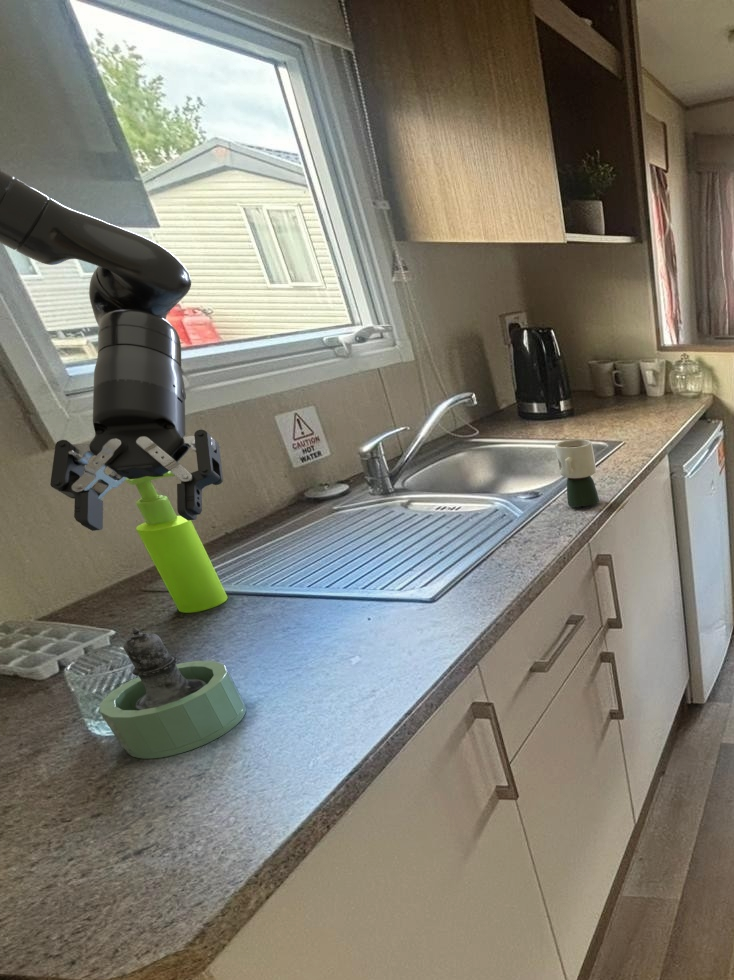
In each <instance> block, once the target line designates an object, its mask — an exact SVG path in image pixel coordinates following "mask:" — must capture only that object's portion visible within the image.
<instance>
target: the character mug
mask: <svg viewBox="0 0 734 980" xmlns="http://www.w3.org/2000/svg"><path fill="white" fill-rule="evenodd" d="M554 449H555V453H556V454H555V455H556V458H557V461H558V468H559V469H558V470H559V474H560V476H562V477H564V478H566V497H567V505H568V507H571V508H577V507H580V508H582V509H583V508H584V507H587V506H588V507H589V506H593V505H597V504H598V503H599V502H600V498H599V495H598V494H599V493H598V490H597V487H596V484H595V481H594V479H593V477H592V476H594V475H595V474H597V466H596V460H595V453H594V448H593V442H592V441H591V440H590V439H585V438H584V439H583V438H581V439H580V438H576V439H575V438H574V439H567V440H562V441H559V442H556V443H555V444H554Z"/></svg>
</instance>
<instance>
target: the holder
mask: <svg viewBox="0 0 734 980" xmlns="http://www.w3.org/2000/svg"><path fill="white" fill-rule="evenodd" d="M175 664H176V666H177V668H178V669H179V671H180V673H181V675H182V676H183V677H184V678H185V679H186V680H187V679H199V680H202V681H204V682H205V683H206V685H205V686H204V687H202V688H201V689H199V690H198V691H196V692H194V693H192V694H190V695H188V696H186V697H184V698H182V699H180V700H178V701H174V702H171V703H168V704H165V705H162V706H159V707H155V708H149V709H143V710H137V708H136V703H137V701H138V700H139V699H140V698H141V697H142V696H144V695H145V694H146V689H145V686H144V684H143V682H142V681H141V679H140V677H139V676H137V677H135V678H132V679H130V680H128V681H126V682H125V683H123V684H121V685H120V686H118V687H116V688H115V689H114V690H112V691H111V692H109V693H108V694H107V695H106V696H105V697H104V699H102V700H101V702H100V703H99V713H100V715H101V716H102V718H103V720H104V721H105V723H106V725H107V726H108V727H109V730H110V731H111V732H112V734H113V735H114V737H115V739H116V740H117V742H118V743H119V745H120V746H121V747H122V749H124V750H125V752H126V753H127V754H128V755H129V756H131V757H133V758H137V759H147V760H148V759H149V760H150V759H151V760H152V759H160V758H166V757H171V756H175V755H180V754H183V753H186V752H189V751H192V750H195V749H197V748H200V747H202V746H204V745H207V744H209V743H211V742H213V741H215V740H217V739H219V738H220V737H222V736H224V735H225V734H227V733H229V732H230V731H231V730H233V729H234V728H235V727H236V726H237V725H239V723H240V722H241V721H242V720H243V719H244V717H245V715H246V712H247V707H246V704H245V703H244V700H243V697H242V694H241V693H240V690H239V689H238V687H237V685H236V684H235V682H234V680H233V678H232V675H231V674H230V672H229V669H228V668H227V666H226V665H225V664H224V663H221V662H218V661H215V660H194V661H186V662H182V663H181V662H180V663H175Z"/></svg>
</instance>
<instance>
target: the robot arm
mask: <svg viewBox="0 0 734 980" xmlns="http://www.w3.org/2000/svg"><path fill="white" fill-rule="evenodd" d="M0 244H2V245H3V246H6V247H7V248H9V249H12V250H13V251H16V252H17V253H20V254H21V255H23V256H25V257H27V258H29V259H31V260H33V261H36V262H39V263H41V264H45V265H47V266H48V265H49V266H54V265H59V264H61V263H63V262H67V261H68V260H79V261H82V262H85V263H88V264H91V265H94V266H96V269H95V270H94V271H93V273H92V275H91V277H90V281H89V289H88V297H89V301H90V305H91V309H92V312H93V315H94V319H95V321H96V324H97V326H98V333H97V358H96V363H95V366H94V370H93V395H92V396H93V397H92V402H93V403H92V425H93V429H94V436H93V438H92V440H91V441H90V442H89V443H78V444H77V443H76V444H73V443H71V442H70V441H69V440H66V439H60V440H57V441H56V443H55V446H54V454H53V461H52V466H51V467H52V468H51V474H50V475H51V477H50V483H49V484H50V487H51V488H53V489H54V490H56V491H58V492H59V493H61V494H63V495H64V496H66V497H68V498H70V499H72V500H74V506H73V507H74V510H73V511H74V512H73V513H74V514H73V517H74V519H75V521H76V522H78V523H79V524H80V525H81V526H83V527H84V528H87V529H88V530H90V531H92V532H93V531H102V530H103V528H104V527H103V526H104V501H103V500H102V499H103V498H104V497H105V495H107V493H109V491H110V490H112V489H117V488H118V487H120V486H121V485H122V484H123V483H124V481H126V480H125V479H126V478H128V479H138V478H142V477H145V476H150V477H161V476H163V474H165V473H167V472H169V471H170V472H171V473H172V474H174V475H175V476H174V477H176V478H177V479H179V481H180V483H176V506H177V507H176V511H177V513H178V516H182V517H183V518H185V519H186V520H188V521H189V520H191V521H196V520H197V519H198V515H201V513H202V512H203V490H204V489H205V487H207V486H210V485H214V486H218V485H221V484H222V483H223V481H224V476H223V468H222V459H221V451H220V450H221V449H220V444H219V441H217V440H216V439H215V438H214V437H213V436H212V435H211V434H210V433H208V431H206V430H205V429H198V430H195V432H194V434H193V435H187V436H186V399H187V395H186V391H185V390H186V389H185V383H184V378H183V371H182V344H181V339H180V335H179V333H178V331H177V329H176V328H175V327H174V326H173V325H172V324H171V323H170V322H169V321H168V320H167V316H168V314H169V313H170V312H171V310H173V309H174V308H175V307H176V305H178V303H180V301H181V300H183V299H184V297H185V296H186V295H187V294H188V293H189V291H190V290H191V287H192V279H191V276H190V275H191V274H190V272H189V271H188V269H187V268H186V266H185V265H184V264H183V262H181V261H180V259H179V258H178V257H176V256H175V254H173V253H171V252H170V251H169V250H168V249H167V248H165V247H163V246H161V245H160V244H158V243H157V242H155V241H153V240H151V239H149V238H147V237H145V236H142V235H140V234H137V233H136V232H132V231H130V230H127V229H124V228H122V227H119V226H117V225H114V224H111V223H109V222H106V221H104V220H102V219H99V218H97V217H93V216H92V215H88V214H86V213H83V212H80V211H77V210H74V209H72V208H70V207H67V206H65V205H63V204H61V203H60V202H58V201H56V200H54V199H53V198H51V197H49V196H47V195H46V194H44V193H43V192H41V191H39V190H37V189H36V188H34V187H32V186H31V185H29V184H28V183H25V182H24V181H21V180H20V179H18V178H17V177H15V176H13V175H11V174H10V173H7V172H6V171H4V170H2V169H0ZM190 449H191V450H192V451H193V452H195V453H196V454H195V455H196V463H197V470H195V471H193V472H190V471H189V470H188V469H187V468H186V467H184V466H183V465H182V464H181V463H180V460H181V459H182V458H183V457H184V456H185V455H186V454H187V452H189V450H190ZM92 457H94V458H92ZM91 458H92V459H91ZM90 459H91V461H90ZM106 468H108V469H109V470H111V471H112V472H111V473H110V474H107V473H106V472H105V469H106Z"/></svg>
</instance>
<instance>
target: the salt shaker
mask: <svg viewBox="0 0 734 980" xmlns="http://www.w3.org/2000/svg"><path fill="white" fill-rule="evenodd" d="M140 631H141V630H140V629H138V628H136V627H132V629H131V632H130V633H131V634H133V635H131V636H130V637H129V638H127V639H126V640H125V641H124V643H123V646H122V647H123V650H124V651H125V653H126V655H127V657H128V658H129V659H130V662H131V664H132V665H133V667H134V668H132V670H131V673H132V675H133V676H137V677H140V679H141V681H142V682H143V684H144V686H145V689H146V694H145V695H144V696H142V697H141V698H140V699H139V700H138V701H137V703H136V708H137V710H143V709H149V708H155V707H159V706H162V705H165V704H168V703H171V702H174V701H178V700H180V699H182V698H184V697H186V696H188V695H190V694H192V693H194V692H196V691H198V690H199V689H201V688H202V687H204V686H205V685H206V683H205V682H204V681H202V680H199V679H187V680H186V679H185V678H184V677H183V676H182V675H181V673H180V671H179V669H178V668H177V666H176V664H177V662H178V658H177V657H176V656H173V655H170V653H169V651H168V649H167V647H166V646H165V644H164V642H163V640H162V638H161V637H160V636H159V635H158V634H156V633H153V632H140Z"/></svg>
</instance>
